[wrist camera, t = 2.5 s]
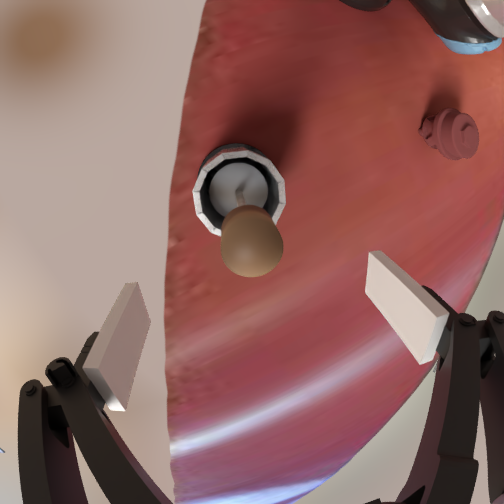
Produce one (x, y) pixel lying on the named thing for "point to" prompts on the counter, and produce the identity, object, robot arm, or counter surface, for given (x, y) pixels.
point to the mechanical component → (451, 134)
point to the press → (229, 156)
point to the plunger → (245, 221)
